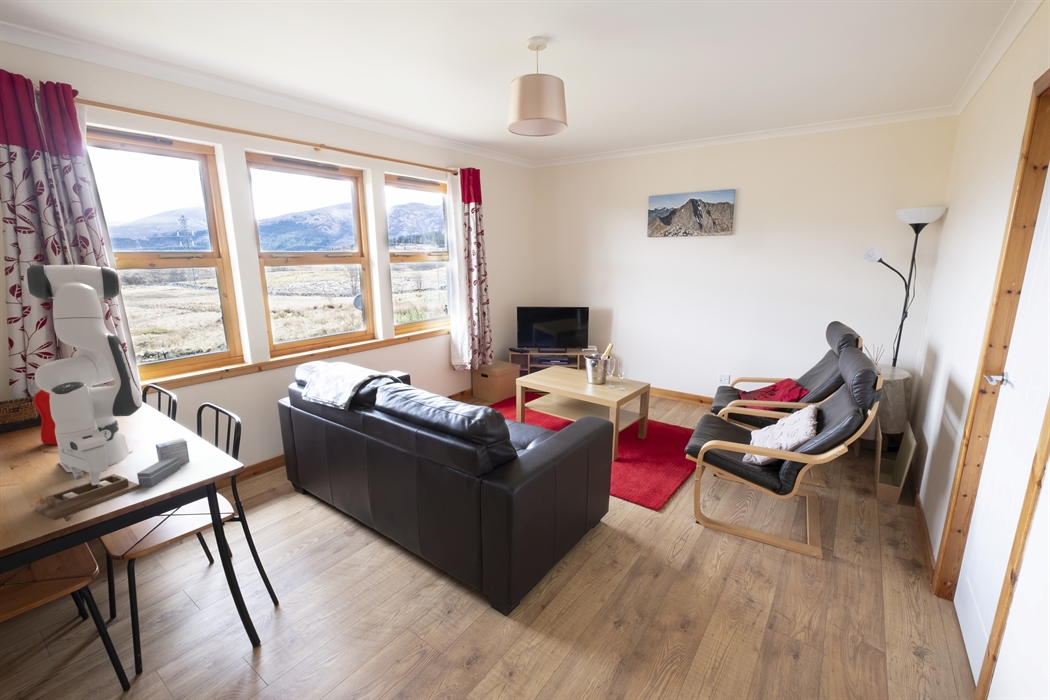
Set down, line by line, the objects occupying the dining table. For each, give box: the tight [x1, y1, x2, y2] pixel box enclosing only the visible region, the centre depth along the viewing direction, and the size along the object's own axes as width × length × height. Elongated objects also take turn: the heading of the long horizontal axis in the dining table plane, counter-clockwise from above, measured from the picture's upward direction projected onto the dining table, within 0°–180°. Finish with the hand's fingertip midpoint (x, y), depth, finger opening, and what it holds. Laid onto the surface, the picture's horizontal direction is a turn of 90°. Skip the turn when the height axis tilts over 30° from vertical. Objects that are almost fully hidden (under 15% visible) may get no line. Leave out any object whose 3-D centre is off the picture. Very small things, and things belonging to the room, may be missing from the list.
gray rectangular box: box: [136, 457, 181, 488], centre depth 148 cm, size 4×12×5 cm, turn 0°
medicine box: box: [155, 438, 190, 465], centre depth 158 cm, size 8×4×9 cm, turn 141°
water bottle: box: [33, 389, 58, 446], centre depth 180 cm, size 9×11×25 cm
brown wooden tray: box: [34, 473, 141, 520], centre depth 136 cm, size 12×20×4 cm, turn 155°
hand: (87, 481), depth 135 cm, fingers open, 8 cm apart
